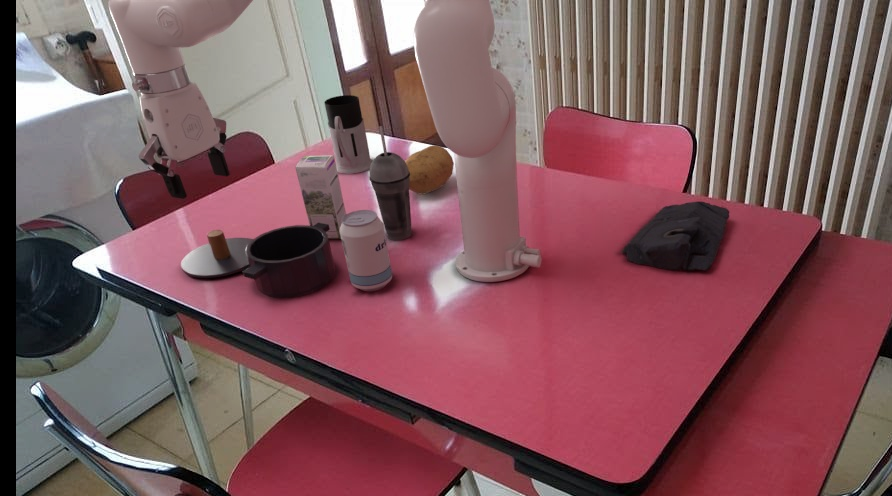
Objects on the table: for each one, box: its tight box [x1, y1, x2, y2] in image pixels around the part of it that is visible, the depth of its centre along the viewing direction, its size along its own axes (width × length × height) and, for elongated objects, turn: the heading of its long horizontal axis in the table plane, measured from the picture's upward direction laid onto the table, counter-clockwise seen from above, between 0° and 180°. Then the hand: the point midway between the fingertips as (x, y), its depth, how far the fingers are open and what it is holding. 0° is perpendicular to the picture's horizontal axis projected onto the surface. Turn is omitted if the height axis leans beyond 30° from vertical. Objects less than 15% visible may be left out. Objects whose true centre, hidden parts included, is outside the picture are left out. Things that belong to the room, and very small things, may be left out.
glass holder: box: [324, 94, 373, 175], centre depth 153 cm, size 9×14×15 cm, turn 1°
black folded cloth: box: [621, 200, 730, 272], centre depth 118 cm, size 15×22×5 cm
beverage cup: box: [369, 125, 412, 241], centre depth 123 cm, size 7×7×20 cm
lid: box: [180, 229, 254, 279], centre depth 124 cm, size 14×14×6 cm
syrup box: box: [294, 154, 347, 240], centre depth 127 cm, size 6×6×14 cm
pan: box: [242, 223, 336, 299], centre depth 116 cm, size 13×19×7 cm
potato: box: [404, 145, 455, 195], centre depth 143 cm, size 10×14×8 cm
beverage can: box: [340, 209, 393, 292], centre depth 111 cm, size 7×7×12 cm
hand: (201, 185), depth 117 cm, fingers open, 9 cm apart
